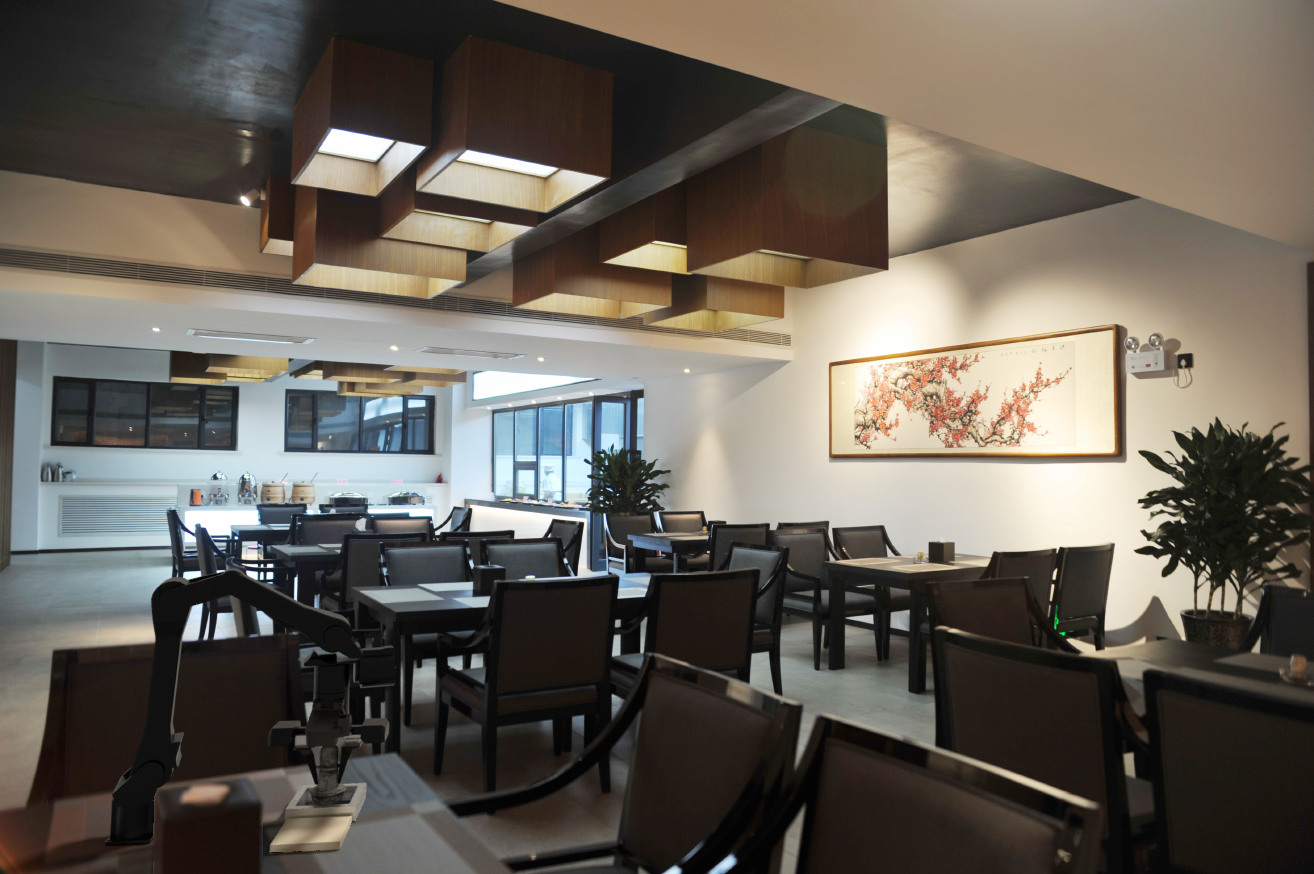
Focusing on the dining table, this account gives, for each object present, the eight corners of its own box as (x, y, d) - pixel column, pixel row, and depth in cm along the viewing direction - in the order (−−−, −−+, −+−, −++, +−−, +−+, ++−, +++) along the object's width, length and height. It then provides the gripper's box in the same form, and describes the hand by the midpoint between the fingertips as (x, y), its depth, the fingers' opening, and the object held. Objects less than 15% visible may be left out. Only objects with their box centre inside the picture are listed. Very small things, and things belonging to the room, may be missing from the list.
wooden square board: (269, 852, 127) (270, 844, 128) (286, 826, 137) (287, 818, 137) (339, 849, 129) (339, 841, 129) (351, 822, 139) (351, 815, 139)
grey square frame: (284, 824, 138) (285, 809, 138) (300, 799, 148) (301, 785, 149) (355, 821, 140) (355, 805, 140) (366, 797, 150) (366, 782, 150)
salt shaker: (332, 818, 141) (335, 745, 141) (301, 815, 142) (303, 742, 142) (352, 805, 146) (355, 734, 147) (321, 802, 148) (324, 732, 148)
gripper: (259, 703, 136) (255, 803, 135) (381, 700, 139) (378, 798, 138) (278, 687, 147) (274, 779, 146) (390, 684, 150) (387, 774, 149)
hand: (328, 783), depth 144 cm, fingers closed on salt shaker, 3 cm apart
